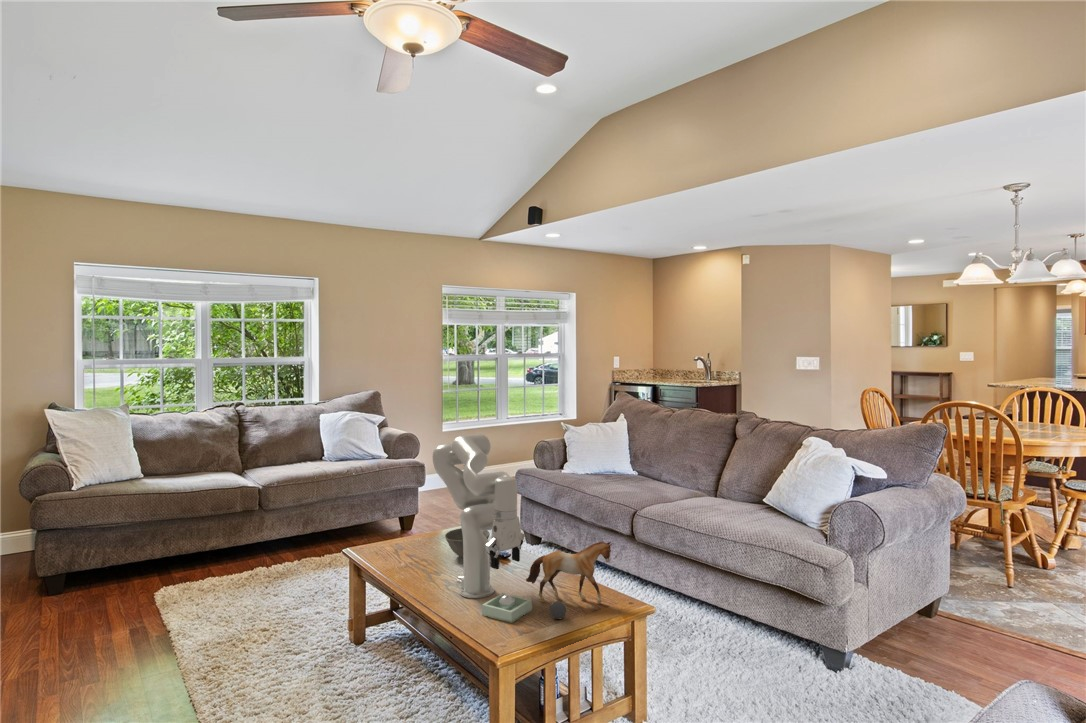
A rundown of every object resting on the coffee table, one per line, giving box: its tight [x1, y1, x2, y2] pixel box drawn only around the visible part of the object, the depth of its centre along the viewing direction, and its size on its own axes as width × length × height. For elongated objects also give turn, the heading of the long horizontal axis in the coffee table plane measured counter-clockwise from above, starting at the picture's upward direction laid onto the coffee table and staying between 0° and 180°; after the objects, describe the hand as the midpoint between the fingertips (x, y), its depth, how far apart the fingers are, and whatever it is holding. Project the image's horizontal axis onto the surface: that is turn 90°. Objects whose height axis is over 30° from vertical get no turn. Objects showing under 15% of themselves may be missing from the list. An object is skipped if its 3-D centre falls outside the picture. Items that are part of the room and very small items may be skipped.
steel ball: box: [499, 593, 515, 611], centre depth 217 cm, size 6×6×6 cm
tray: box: [481, 592, 533, 624], centre depth 217 cm, size 12×12×4 cm
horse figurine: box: [525, 541, 613, 605], centre depth 227 cm, size 31×8×21 cm, turn 81°
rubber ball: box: [549, 600, 568, 620], centre depth 212 cm, size 6×6×6 cm
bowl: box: [444, 527, 490, 559], centre depth 275 cm, size 19×19×10 cm
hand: (505, 564), depth 217 cm, fingers open, 9 cm apart
